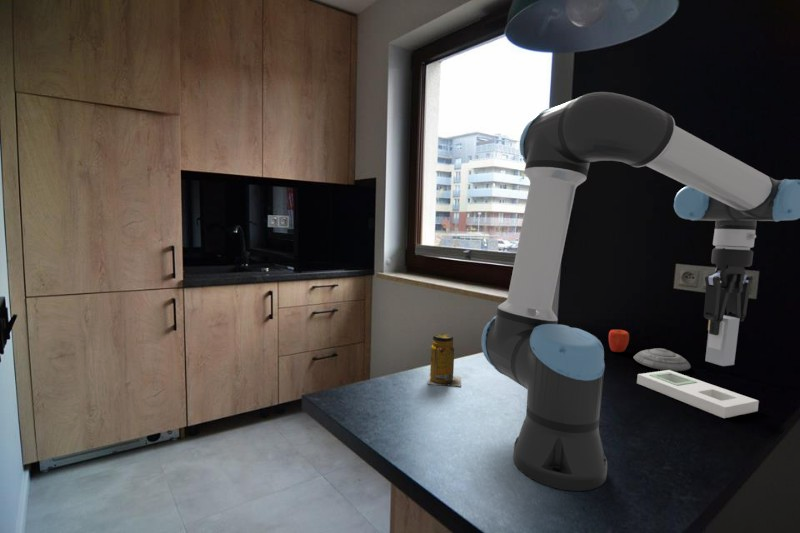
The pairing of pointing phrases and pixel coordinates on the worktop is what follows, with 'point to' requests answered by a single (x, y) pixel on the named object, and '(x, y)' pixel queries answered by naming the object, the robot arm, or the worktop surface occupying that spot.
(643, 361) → the flying saucer
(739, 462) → the worktop surface
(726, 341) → the plug
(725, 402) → the panel
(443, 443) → the worktop surface
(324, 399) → the worktop surface
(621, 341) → the apple
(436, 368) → the condiment
